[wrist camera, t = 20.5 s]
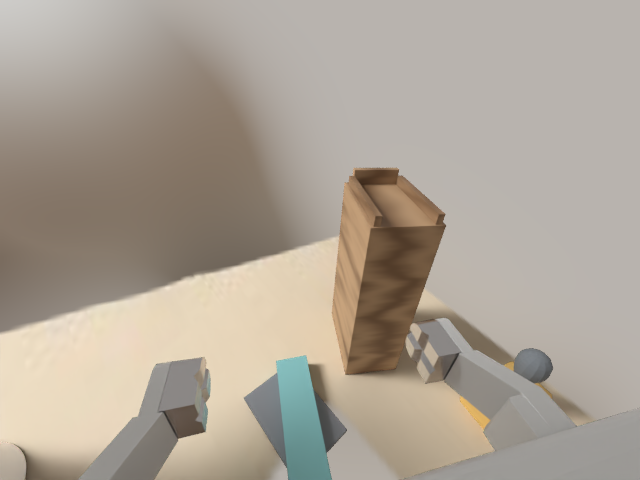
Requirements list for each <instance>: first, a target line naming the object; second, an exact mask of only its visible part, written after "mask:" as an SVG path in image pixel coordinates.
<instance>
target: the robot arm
mask: <svg viewBox="0 0 640 480" xmlns="http://www.w3.org/2000/svg"><path fill="white" fill-rule="evenodd" d="M410 330H411V333H409V334H408V335H407V337H406V348H407V351H408V354H409V356H410V357H411V359H413V360H414V361H415V362H417V370H418V372H419V373H420V375H421V377H422V379H423V380H424V382H425V384H427V383H433V382H438V381H443V380H445V381H444V382H445V383H446V384H448V385H449V386H450V387H451V388H452V389H454V390H455V391H456V392H457V393H458V394H460V395H461V396H462V397H463V398H464V399H466V400H467V401H468V402H469V403H470V404H472V405H473V406H474V407H475V408H476V409H478V410H479V411H480V412H481V413H482V414H484V415H485V416H486V417H487V418H488V419H490V420H491V421H490V422H489V423H488V424H487V425H486V427H485V428H484V432H483V433H484V434H485V436H486V437H487V439H488V440H489V442H490V444H491V445H492V447H493V448H494V450H495V451H494V452H490V453H487V454H484V455H480V456H477V457H474V458H470V459H467V460H464V461H460V462H457V463H454V464H450V465H447V466H444V467H440V468H437V469H434V470H430V471H427V472H424V473H420V474H417V475H414V476H410V477H407V478H404V479H400V480H640V408H637V409H634V410H631V411H627V412H624V413H620V414H617V415H614V416H610V417H607V418H604V419H600V420H597V421H594V422H590V423H587V424H584V425H580V426H576V425H575V424H574V423H573V422H572V420H571V419H570V418H569V417H568V416H567V415H566V414H565V413H564V412H563V411H562V410H561V408H560V407H559V406H558V405H557V404H556V403H555V402H554V401H553V400H552V399H551V398H550V396H549V395H548V394H547V393H546V392H545V391H544V390H543V389H542V388H541V387H539V386H537V385H536V384H534V383H532V382H531V381H529V380H527V379H525V378H524V377H522V376H520V375H519V374H517V373H515V372H514V371H512V370H510V369H509V368H507V367H505V366H503V365H502V364H500V363H498V362H497V361H495V360H493V359H492V358H490V357H488V356H486V355H485V354H483V353H481V352H480V351H478V350H473V349H472V348H471V346H470V345H469V344H468V343H467V341H466V340H465V339H464V338H463V336H462V335H461V334H460V333H459V331H458V330H457V329H456V328H455V326H454V325H453V324H452V323H451V321H450V320H449V319H447V318H440V319H432V320H426V321H421V322H415V323H413V324H411V326H410ZM209 397H210V373H209V370H208V369H206V360H205V357H201V358H194V359H187V360H180V361H172V362H166V363H160V364H156V365H155V367H154V368H153V370H152V374H151V377H150V380H149V383H148V386H147V389H146V393H145V396H144V399H143V402H142V405H141V408H140V412H139V415H138V417H134V418H132V419H131V420H130V421H129V422H128V424H127V425H126V426H125V427H124V428H123V429H122V430H121V432H120V433H119V434H118V435H117V436H116V437H115V438H114V439H113V441H112V442H111V443H110V444H109V445H108V446H107V447H106V448H105V450H104V451H103V452H102V453H101V454H100V455H99V456H98V458H97V459H96V460H95V461H94V462H93V463H92V464H91V465H90V467H89V468H88V469H87V470H86V471H85V472H84V473H83V474H82V476H81V477H80V478H79V479H78V480H154V479H155V477H156V476H157V474H158V472H159V471H160V469H161V467H162V466H163V464H164V463H165V461H166V459H167V458H168V456H169V455H170V453H171V451H172V450H173V448H174V447H175V445H176V443H177V442H178V439H179V438H183V437H187V436H191V435H195V434H199V433H203V432H206V423H207V415H208V409H207V406H206V401H207V400H208V399H209ZM25 476H26V460H25V457H24V454H23V452H22V451H21V450H20V449H19V448H18V447H17V446H15V445H13V444H11V443H8V442H0V480H25Z"/></svg>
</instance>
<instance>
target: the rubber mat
mask: <svg viewBox="0 0 640 480" xmlns="http://www.w3.org/2000/svg"><path fill="white" fill-rule="evenodd" d="M313 391H314V390H313ZM314 396H315V401H316V406H317V411H318V415H319V420H320V425H321V430H322V435H323V440H324V444H325V449H326V453H327V452H328V451H329V450H330V449H331V448H332V447H333V446H334V444H335V443H336V442H337V441H338V440H339V439H340V438H341V437H342V436H343V435H344V433H345V432H346V431H347V429H346V428H345V427H344V426H343V424H342V423H341V422H340V421H339V420H338V418H337V417H336V416H335V415H334V414H333V412H332V411H331V410H330V409H329V408H328V406H327V405H326V404H325V403H324V402H323V400H322V399H321V398H320V397H319V396H318V394H317V393H316V392H315V391H314ZM244 400H245V401H246V403H247V404H248V406H249V408H250V409H251V411H252V413H253V414H254V416H255V417H256V419H257V421H258V422H259V424H260V425H261V427H262V429H263V430H264V432H265V434H266V435H267V437H268V438H269V440H270V442H271V443H272V445H273V447H274V448H275V450H276V451H277V453H278V455H279V456H280V458H281V460H282V461H283V463H284V464H285V466H286V468H287V461H286V451H285V442H284V432H283V422H282V413H281V403H280V393H279V384H278V374H277V373H276V374H275V375H274V376H272V377H271V378H270V379H268V380H267V381H266V382H264V383H263V384H262V385H260V386H259V387H258V388H256V389H255V390H254V391H252V392H251V393H250V394H248V395H247V396H246V397H244Z"/></svg>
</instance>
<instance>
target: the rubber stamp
mask: <svg viewBox="0 0 640 480" xmlns="http://www.w3.org/2000/svg"><path fill="white" fill-rule="evenodd" d="M504 366H505V367H507V368H509V369H510V370H512V371H514V372H515V373H517V374H519V375H520V376H522V377H524V378H525V379H527V380H529V381H531V382H532V383H534V384H536V385H537V386H539V387H541V388H542V389H543V390H544V391H545V392H546V393H547V394H548V395H549V396H550V398H551V399H552V394H551V393H549V392H548V391H547V390H546V389H545V388H544V387H543V386H542V385H540V384H539V382H542V381H545V380H546V379H547V378H548V377H549V376H550V374H551V372H552V370H553V366H552V363H551V360H550V358H549V357H548V356H547V355H546V354H545V353H543V352H542V351H540V350H537V349H533V348H532V349H525V350H522V351H521V352H520V353H519V354H518V355H517V357H516V358H515V361H514V362H509V363H507V364H505V365H504ZM460 402H461V403H462V404H463V405H464V407H465V408H466V409H467V410H468V411H469V413H470V414H471V415H472V416H473V417H474V419H475V420H476V421H477V422H478V423H479V425H480V426H481V427H482V428H483V429H484V428H485V427H486V425H487V424H488V423H489V422H490V421H491V420H490V419H488V418H487V417H486V416H485V415H484V414H482V413H481V412H480V411H479V410H478V409H476V408H475V407H474V406H473V405H472V404H470V403H469V402H468V401H467V400H466V399H464V398H463V397H462V396H461V397H460Z"/></svg>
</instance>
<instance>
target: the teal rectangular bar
mask: <svg viewBox="0 0 640 480" xmlns="http://www.w3.org/2000/svg"><path fill="white" fill-rule="evenodd" d="M276 363H277V374H278V384H279V393H280V403H281V413H282V422H283V432H284V442H285V451H286V461H287V471H288V480H332V478H331V474H330V469H329V464H328V459H327V454H326V449H325V444H324V440H323V435H322V430H321V425H320V420H319V415H318V411H317V406H316V401H315V396H314V391H313V386H312V382H311V377H310V372H309V367H308V362H307V357H306V356H300V357H295V358H290V359H284V360H279V361H276Z"/></svg>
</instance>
